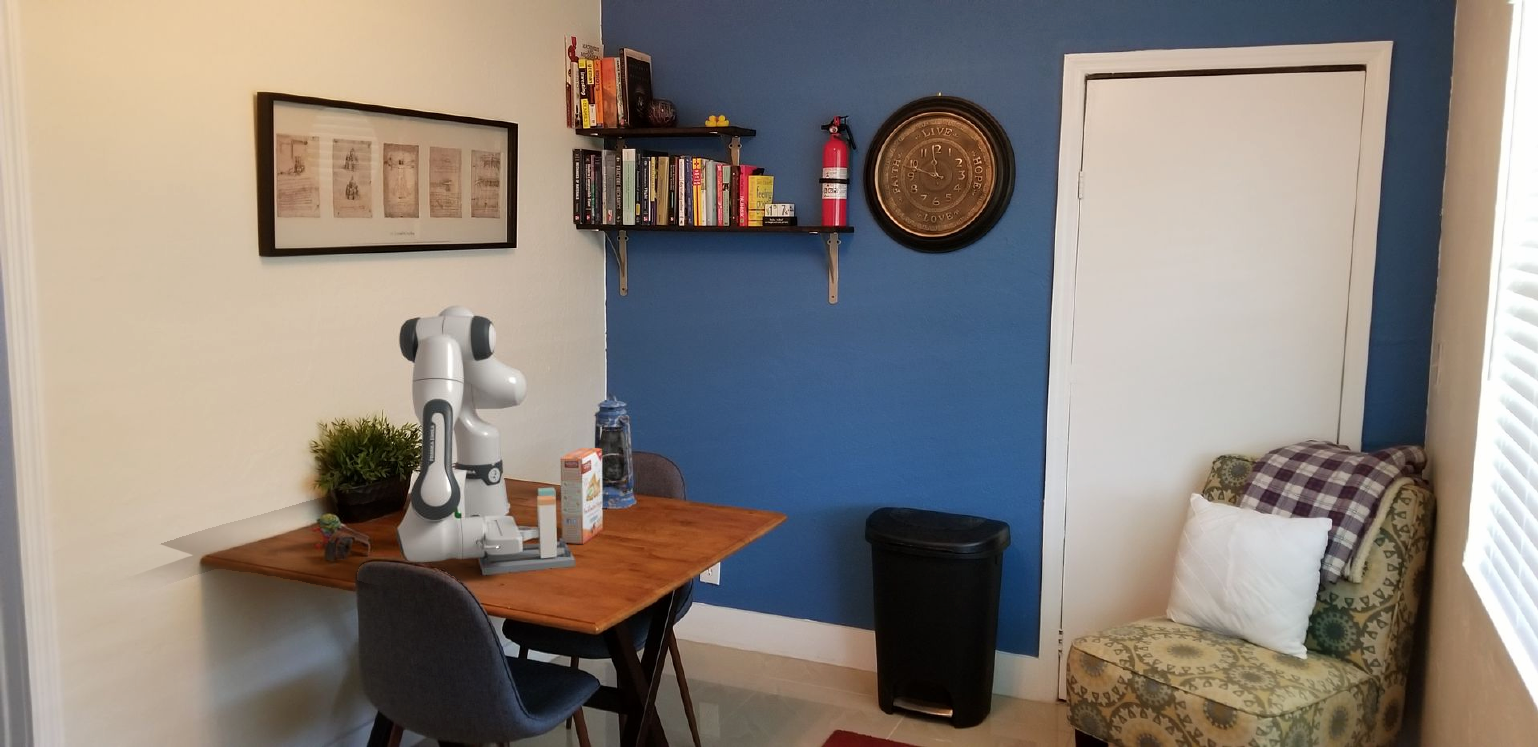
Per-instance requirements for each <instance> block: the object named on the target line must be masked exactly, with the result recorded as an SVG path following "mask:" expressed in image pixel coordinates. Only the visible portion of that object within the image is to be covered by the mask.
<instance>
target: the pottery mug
mask: <svg viewBox="0 0 1538 747" xmlns="http://www.w3.org/2000/svg"><path fill="white" fill-rule="evenodd" d="M337 539H339V540H338V542H337ZM371 539H372V537H371V536H369V535H367V534H365V533H363V532H360V531H358V530H357V529H356V530H355V529H353V528H351V527H348V526H347V525H346V526H341V528H340V530H338V531H336V532H334V533H333V534H332V535H331V536H330V538H329V540H328V542H327V543H326V546H325V549H324V556H323V558H324V559H325V560H327V561H329V562H331V563H335V559H336V558H337V559H338V560H346V559H347V558H348V556H349V553H350V550H351V549H352V547H353V544H354V543H353V542H354V541H355V542H356V543H360V544H361V546H364V547H366V552H365V555H366V557H368V556H369V555H370V550H371V544H370V542H371Z"/></svg>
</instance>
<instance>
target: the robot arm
mask: <svg viewBox="0 0 1538 747" xmlns="http://www.w3.org/2000/svg"><path fill="white" fill-rule="evenodd" d="M497 339H498V338H497V331H496V329H495V326H494V323H493V322H492V321H491V320H490V319H489V318H488V317H485V316H482V315H481V316H480V315H475V314H474V313H473V312H472V311H471V310H470V309H468V308H467V307H465V306H460V305H451V306H449V307H446V308H444V309H443V310H442V311H441V312H440V313H439V314H438V316H437V315H436V316H428V317H422V318H421V316H420V317H418V316H417V317H415V318H409V319H407V320H405V321H404V323H403V324H402V325H401V327H400V331H399V336H398V345H399V348H400V352H401V355H402V356H403V357H404V358H405V359H406V360H407V361H409V362H411V363H413V372H412V382H411V384H412V388H411V392H412V402H413V409H414V414H415V416H416V418H417V419H418V421H419V423H420V428H421V436H422V437H421V463H420V470H419V474H418V476H417V477H416V479H415V482H414V483H413V485H412V488H411V492H410V502H409V505H408V508H407V510H406V513H405V515H404V517H403V519H402V521H401V522H400V524H399V525H398V527H397V528H396V537H397V542H398V547H399V550H400V554H401V555H402V557H403V558H404V559H405V560H407V561H408V562H415V563H416V562H417V563H427V562H429V563H430V562H440V561H441V562H442V561H445V560H448V559H458V560H465V559H478V557H484V555H485V551H486V552H487V553H488V554H490V555H506V554H518V553H521V552H522V551H523V545H524V544H523V542H525V541H528V540H531V539H538V537H539V536H540V531H539V529H538V526H526V525H517V524H516V521H515V518H514V517H513V516H512V515H509V513H510V509H511V503H509V502H508V494H507V489H506V481H505V478H504V477H503V473H504V464H503V459H502V456H501V452H502V451H501V434H500V431H499V429H498V428H497V427H496V426H495V425H493V424H492V423H490V422H488V421H486V420H483V419H481V417H480V416H479V415H478V413H477V411H476V410H494V409H495V410H497V409H499V410H500V409H505V408H507V409H508V408H511V407H516V406H519V405H521V403H523V401H524V399H525V398H526V395H527V392H528V386H527V385H528V382H527V380H526V378H525V376H524V374H523V373H522V371H520V369H518V368H516V367H515V368H514V367H512V366H509V365H507V364H505V363H504V362H502V361H500V360H499V359H498V358H497V357H496V356H495V355H493V354H494V353H495V349H496V345H497V341H498V340H497ZM453 435H454V437H455V439H454V440H455V446H456V459H457V461H456V462H453ZM452 469H455V470H467V471H466V478H465V485H464V501H465V518H458V519H457V518H455V516H454V511H455V510H456V509H457V507H458V505H459V502H460V498H461V493H460V488H459V485H458V482H457V480H456V478H455V476H454V474H453V470H452Z"/></svg>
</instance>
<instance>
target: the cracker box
mask: <svg viewBox="0 0 1538 747" xmlns="http://www.w3.org/2000/svg"><path fill="white" fill-rule="evenodd" d="M602 478H603V477H602V449H599V448H595V447H579V449H577V450H575V451H572V452H570V453H567V455H564V456H563V457H560V500H561V502H560V503H561V504H560V509H561V510H560V514H561V522H560V523H561V538H564V539H565V541H566V544H572V545H583V544H586V543H587V542H588V541H590V540H591V539H592V538H594V537H595V536H596V535H597V534H599V533H600V532H603V528H604V527H603V524H604V523H603V517H604V516H603V515H604V514H603V509H602Z"/></svg>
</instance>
